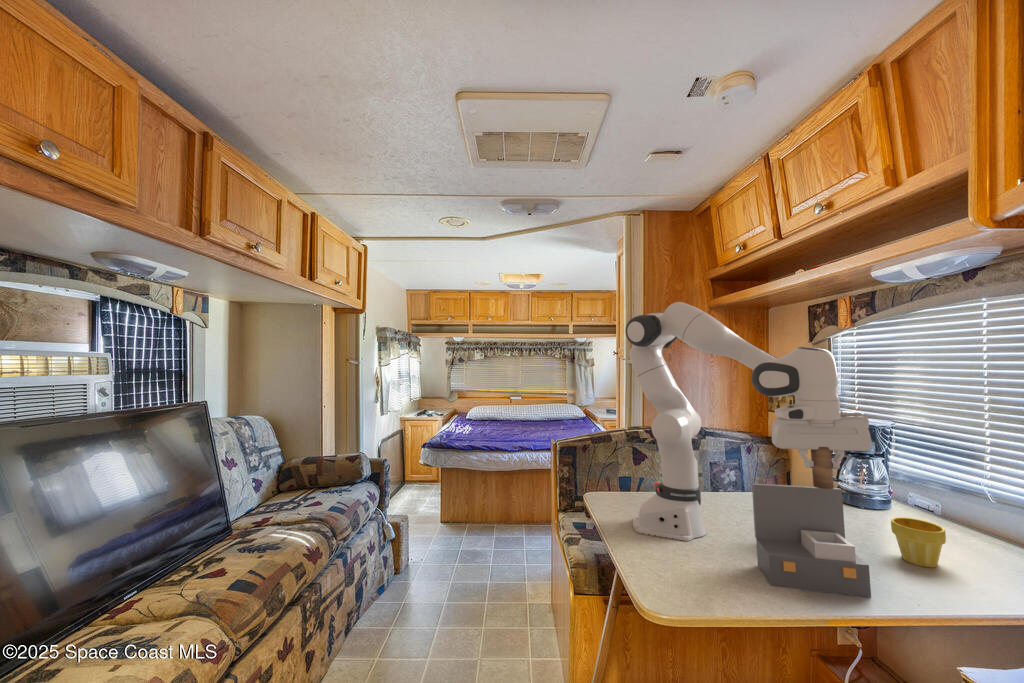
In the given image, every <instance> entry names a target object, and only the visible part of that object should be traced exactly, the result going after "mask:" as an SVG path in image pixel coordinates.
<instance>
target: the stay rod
mask: <svg viewBox="0 0 1024 683" xmlns="http://www.w3.org/2000/svg"><path fill="white" fill-rule="evenodd" d="M810 457H811V460H813V461H814V464H813V465H814V468H811V472H812V473H811V474H812V485H813V486H812V487H817V488H821V489H834V488H835V485H834V473H833V472H834V471H833V469H832V460H833V459H832V450H829V447H819V448H818V449H817V450H812V449H810Z"/></svg>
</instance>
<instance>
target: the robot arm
mask: <svg viewBox="0 0 1024 683" xmlns="http://www.w3.org/2000/svg"><path fill="white" fill-rule="evenodd" d="M625 336H626V339H627V341H628V342H629V343H630V344H632V345H633V346H632V347H631V348H630V350H629V353H628V354H629V361H630V363H631V367H632V370H633V371H634V372H633V373H634V375H635V377H636V379H637V381H638V383H639V386H640V388H641V389H642V390H641V391H643V392H642V393H643V394H644V396H645V399H646V400H647V401H649V403H650V404H651V405H652V406H653V408H654V409H655V411H657V413H658V414H657V415H656V416H655V417H654V418H653V420H652V422H651V433H652V435H653V437H654V439H655V440H656V444H657V448H658V452H659V456H660V462H661V463H660V464H661V468H660V469H661V482H659V481H657V480H656V481H654V483H653V487H654V488H655V495H653V496H651V497H650V498H648V499H647V500H645V501H643V503H642V504H641V506H640V508H639V513H638V514H639V515H636V516H634V517H633V519H632V527H633V529H634V531H636V532H637V533H638V532H639V534H642V533H644V534H643V535H648V534H650V535H649V536H654V535H656V536H655V537H660V536H661V538H666V537H667V538H666V539H672V538H673V540H677V541H678V540H679V541H686V542H689V541H691V540H693V539H697V538H701V537H703V536H705V535H707V530H706V527H705V523H704V520H703V514H702V510H701V502H702V494H701V492H702V490H701V486H700V485H699V469H698V468H699V467H698V466H699V465H698V461H697V458H696V456H695V453H694V449H693V448H694V447H693V443H692V442H693V441H692V440H693V438H695V437H696V436H697V435H698V434H699V432H700V431H701V428H702V418H701V416H700V414H699V413H698V412H697V411H696V410H695V409H694V408H693V406H692V404H691V403H690V402H689V400H688V399H687V397H686V396H685V394H684V393H683V392H682V390H681V389H680V387H679V386H678V384H677V382H676V380H675V378H674V376H673V374H672V371H671V370H670V368H669V366H668V364H667V362H666V360H665V359H664V356H663V353H662V352H663V349H667V348H669V347H670V345H672V344H673V343H674V342H675V341H676V340H677V339H679V340H680V341H682V342H683V343H685V344H686V345H688V346H689V347H691V348H693V349H695V350H697V351H700V352H702V353H705V354H709V355H710V354H711V355H716V356H722V357H727V358H730V359H732V360H735V361H737V362H739V363H741V364H742V365H744V366H745V367H747V368H749V369H751V370H752V373H751V384H752V386H753V387H754V388H755V390H756V391H757V392H758V393H760V395H763V396H767V397H770V398H771V397H772V398H778V397H780V398H781V397H794V399H795V403H792V404H789V405H785V406H781V407H778V408H775V409H774V415H775V417H776V418H775V419H774V420H773V423H772V427H771V442H772V444H773V445H774V446H775V447H776V448H778V449H780V450H782V449H784V450H797V452H798V454H799V456H801V458H802V460H803V463H804V464H803V465H804V467H805V468H808V469H809V468H810V469H812V468H814V465H813V464H814V461H813V460H811V459H810V458H809V457H808V453H809V450H811V449H812V450H817V449H818V448H819V447H829V450H831V451H833V454H835V455H834V456H833V459H832V470H833V469H834V470H840V468H841V464H840V463H841V461H842V460H843V458H844V456H845V452H847V451H848V452H849V451H852V452H856V451H857V452H869V451H870V450H871V449H872V447H873V443H872V437H871V434H870V433H871V432H870V430H869V427H870V421H869V417H868V416H867V415H866V414H864V413H862V412H861V411H841V402H840V397H839V395H838V392H837V388H838V384H839V379H838V371H837V366H836V365H837V364H836V360H835V357H834V354H832V352H831V351H829V350H827V349H824V348H817V347H809V346H798V347H795V348H794V349H793V350H791V351H790V352H789V353H787V354H785V355H783V356H780V357H776V356H774V355H772V354H770V353H768V352H766V351H765V350H763V349H761V348H759V347H757V346H756V345H754V344H752V343H751V342H749V341H747V340H745V339H743V338H742V337H741V336H740V335H738V334H736V333H735V331H733V330H731V329H730V328H729V327H727V326H726V325H725V324H723V323H722V322H721V321H719V320H718V319H717V318H715V317H713V316H712V315H711V314H709V313H707V312H706V311H703V310H702V309H700V308H698V307H696V306H694V305H691V304H689V303H686V302H682V301H675V302H673V303H671V304H669V305H668V306H667V308H666V309H665V310H664V312H652V313H651V312H650V313H647V314H640V315H636V316H634V317H632V318H630V320H628V321H627V323H626V327H625Z"/></svg>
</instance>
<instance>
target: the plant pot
mask: <svg viewBox="0 0 1024 683" xmlns="http://www.w3.org/2000/svg"><path fill="white" fill-rule="evenodd" d="M890 526H891V532H892V533H893V535H895V539H896V541H897V545H898V547H899V551H900V554H901V557H902V559H903V560H905V562H907V563H911V564H912V565H915V566H920V567H925V568H937V566H938V564H939V559H940V556H941V551H942V547H943V545H945V544H946V543H947V541H946V540H947V536H946V530H945V528H944V527H943V526H941V525H940V524H936V523H933V522H931V521H927V520H923V519H918V518H913V517H912V518H911V517H903V516H902V517H901V516H897V517H896V516H895V517H893V518H891V519H890Z"/></svg>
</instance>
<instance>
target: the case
mask: <svg viewBox="0 0 1024 683" xmlns="http://www.w3.org/2000/svg"><path fill="white" fill-rule="evenodd" d="M751 490H752V509H753V524H754V525H753V526H754V528H753V529H754V538H756V540H755V541H756V542H755V543H756V556H757V567H758V568H759V569H760V571H761V573H762V575H763V576H764V577H765V579H766V580H767V581H768V582H767V583H769V585H770V587H771V586H773V587H779V588H791V589H796V590H797V589H798V590H807V591H813V592H815V591H816V592H823V593H824V592H825V593H831V594H841V595H849V596H857V597H858V596H859V597H865V598H866V597H868V598H871V597H872V588H871V577H870V565H869V564H868V563H867V562H866V561H864V559H862V558H861V557H860V556H858V555H857V554H856V547H855V545H854V544H852V543H851V542H849V540H847V539H846V530H845V519H844V518H845V516H844V504H843V489H841V488H840V487H834V489H821V488H817V487H814V486H807V485H805V486H804V485H803V486H802V485H788V484H787V485H786V484H772V483H771V484H769V483H767V484H766V483H755V482H754V483H751Z"/></svg>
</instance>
